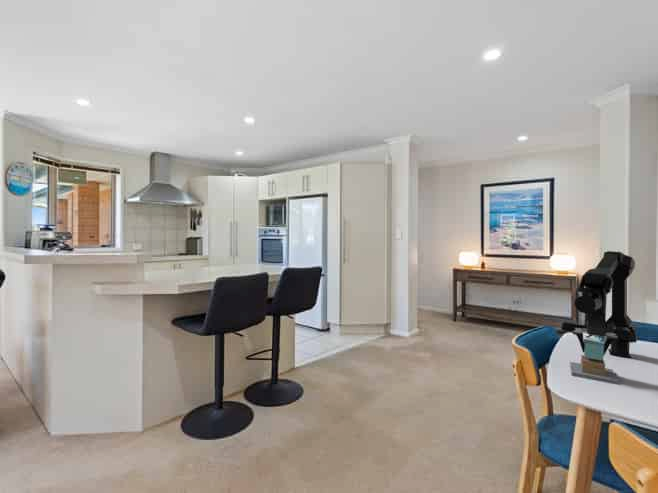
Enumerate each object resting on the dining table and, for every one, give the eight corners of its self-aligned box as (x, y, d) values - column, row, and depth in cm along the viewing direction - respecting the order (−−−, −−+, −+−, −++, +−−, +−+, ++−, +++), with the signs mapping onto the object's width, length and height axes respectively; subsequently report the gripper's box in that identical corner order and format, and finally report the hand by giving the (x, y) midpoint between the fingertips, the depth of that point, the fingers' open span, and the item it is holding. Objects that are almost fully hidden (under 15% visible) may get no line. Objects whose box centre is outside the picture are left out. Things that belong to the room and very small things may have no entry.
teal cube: (583, 352, 120) (584, 339, 120) (601, 355, 118) (602, 341, 117) (584, 357, 116) (585, 343, 116) (603, 360, 113) (603, 345, 113)
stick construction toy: (604, 339, 148) (594, 322, 152) (587, 344, 152) (577, 328, 156) (612, 341, 154) (602, 325, 159) (596, 346, 159) (586, 331, 163)
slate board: (570, 364, 125) (570, 361, 125) (612, 372, 119) (612, 369, 119) (571, 375, 116) (571, 372, 116) (617, 384, 109) (617, 381, 109)
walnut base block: (580, 365, 121) (581, 354, 121) (602, 369, 118) (602, 358, 118) (582, 371, 116) (582, 360, 116) (604, 376, 113) (605, 364, 113)
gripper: (562, 310, 114) (560, 355, 115) (636, 318, 104) (633, 368, 105) (561, 303, 124) (560, 345, 125) (629, 310, 114) (627, 356, 114)
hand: (593, 353), depth 117 cm, fingers closed on teal cube, 5 cm apart
